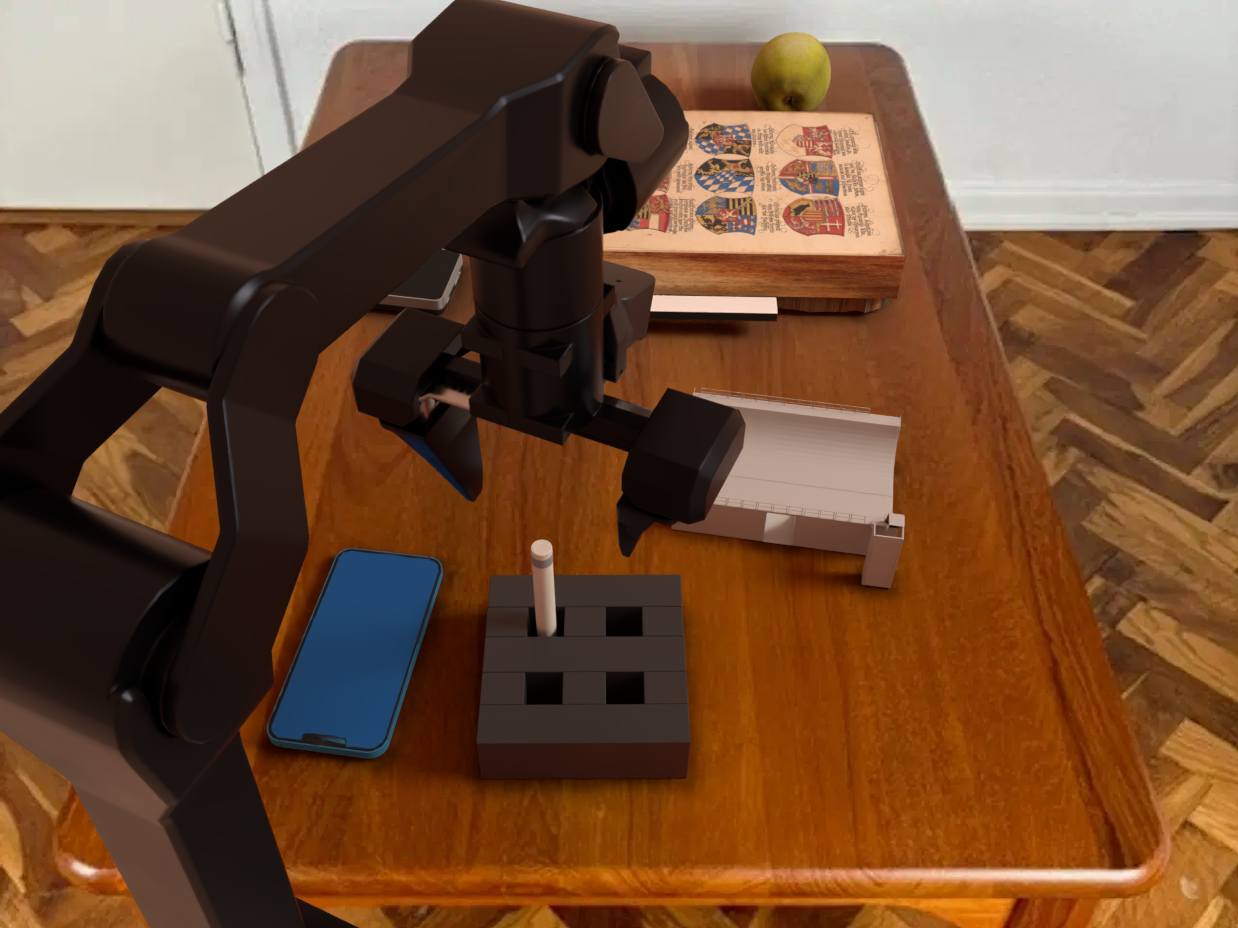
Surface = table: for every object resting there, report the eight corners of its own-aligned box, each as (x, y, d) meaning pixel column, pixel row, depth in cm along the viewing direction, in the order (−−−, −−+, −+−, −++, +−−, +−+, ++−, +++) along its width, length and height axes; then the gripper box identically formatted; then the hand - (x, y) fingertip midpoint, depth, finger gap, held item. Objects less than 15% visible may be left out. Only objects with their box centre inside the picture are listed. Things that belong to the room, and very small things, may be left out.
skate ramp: (893, 448, 88) (905, 397, 84) (890, 589, 79) (904, 539, 75) (691, 423, 90) (694, 372, 86) (665, 558, 81) (668, 508, 77)
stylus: (553, 670, 74) (546, 558, 66) (535, 663, 75) (526, 551, 67) (561, 655, 75) (556, 543, 67) (544, 648, 75) (536, 535, 68)
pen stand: (687, 778, 69) (690, 742, 66) (481, 779, 69) (476, 743, 66) (678, 612, 78) (680, 573, 75) (494, 612, 77) (490, 574, 74)
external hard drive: (444, 321, 98) (441, 301, 96) (314, 306, 99) (309, 287, 97) (465, 269, 102) (463, 250, 101) (341, 256, 104) (337, 237, 102)
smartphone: (446, 558, 79) (383, 754, 69) (447, 567, 80) (385, 763, 70) (338, 545, 80) (260, 738, 70) (341, 555, 81) (263, 747, 70)
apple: (825, 93, 123) (835, 18, 118) (825, 139, 117) (836, 63, 111) (749, 88, 124) (756, 13, 118) (745, 134, 118) (752, 58, 112)
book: (549, 336, 97) (897, 342, 96) (545, 272, 92) (910, 279, 91) (569, 169, 114) (864, 173, 113) (566, 108, 109) (874, 112, 108)
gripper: (799, 244, 55) (767, 475, 66) (446, 150, 60) (471, 380, 71) (711, 394, 48) (691, 625, 59) (319, 274, 53) (370, 507, 64)
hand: (550, 522), depth 64 cm, fingers open, 9 cm apart
